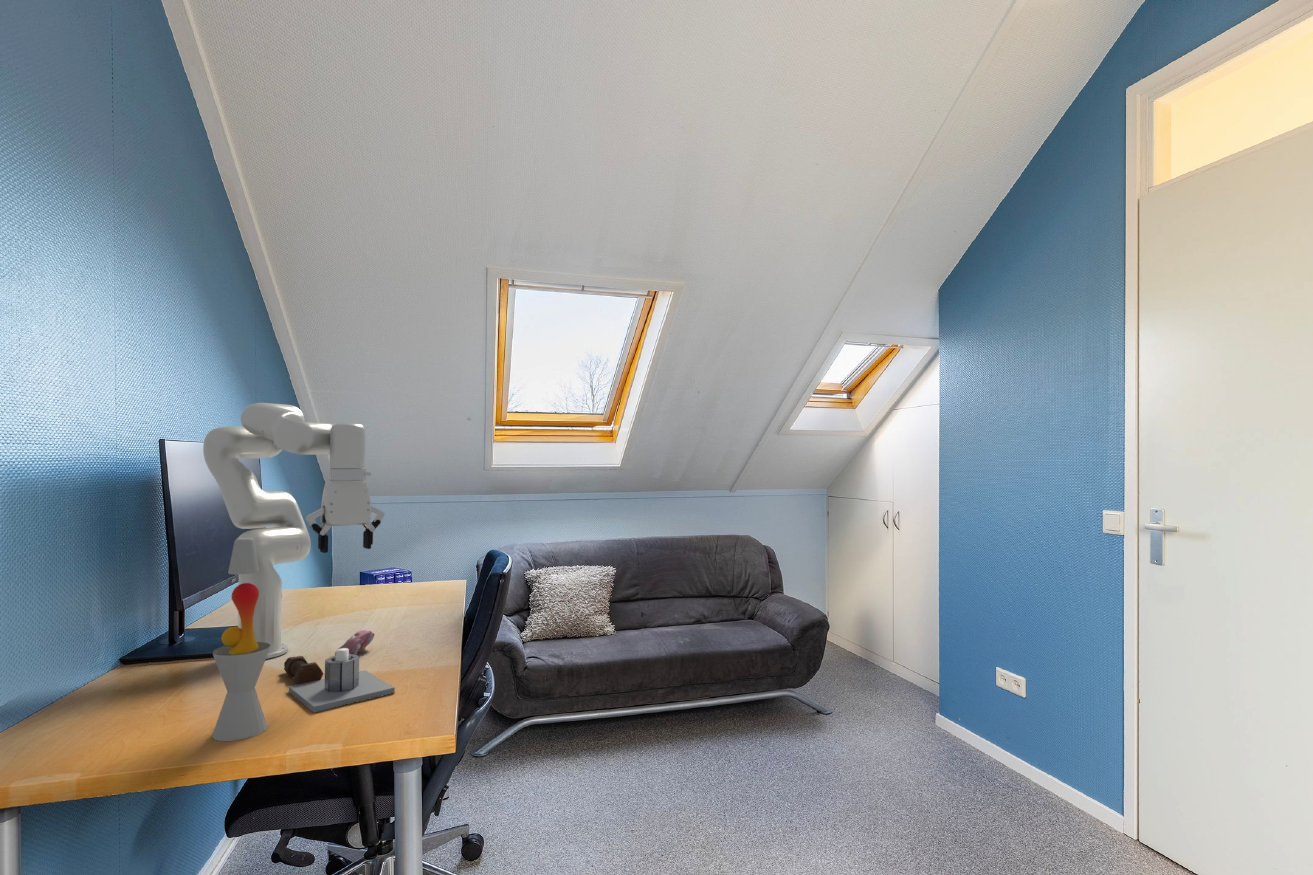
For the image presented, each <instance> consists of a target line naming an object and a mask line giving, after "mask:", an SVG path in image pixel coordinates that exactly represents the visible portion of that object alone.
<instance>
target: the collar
mask: <svg viewBox="0 0 1313 875" xmlns="http://www.w3.org/2000/svg"><path fill="white" fill-rule="evenodd" d="M359 671H360V655H357V654H356V655H354V654H349V656H348V660H347V661H342V662H340V661H336V656H335V655H332V656H329V657H328V658H326V659H325V660H324V679H325V690H326V691H328V692H344V691H348V690H352V689H355V688H356V687H357V686H359Z"/></svg>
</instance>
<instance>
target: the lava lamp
mask: <svg viewBox="0 0 1313 875" xmlns="http://www.w3.org/2000/svg"><path fill="white" fill-rule="evenodd" d="M256 572H259V567H258V561H257V555H256V548H255V542H254V539H253V538H238V537H237V538H236V539H235V540H234V542H233V546H232V552H231V557H230V562H229V567H228V572H227V573H228V574H229V575H235V576H236V575H238V576H239V574H251V573H256ZM258 597H259V591H258V588H257V587H256V586H255V585H253V584H251V583H243V584H240V585H239V584H238V585H237V586H236V587H235V588H234V589H233V590H232V592H231V601H232V602H233V605H234V607H235V608H236V610H237V612H238V613H239V615H240V618H241V626H242V629H241V628H239V627H238V626H231V627H230V626H229V627H228V628H226V629H225V630H224V631H223V632H222V634H221V642H222V643H223V646H220V647H217V648H215V649H214V650H213V651H212V656H213V658H214V661H215V663H216V666H217V669H218V671H219V674H220V677H221V678H222V682H223V685H224V686H225V689H226V695H225V697H224V701H223V704H222V706H221V708H220V712H219V715H218V718H217V720H216V723H215V726H214V728H213V732H212V735H211V738H212V739H213V738H214V739H213V740H214V741H218V742H234V741H235V742H236V741H240V740H241V741H242V740H245V739H250V738H252V737H255V736H258V735H260V734H262V733H263V732H265V731H266V730H267V729H268V727H269V726H268V724H267V720H266V716H265V715H264V711H263V708H262V705H261V702H260V699H259V696H258V693H257V690H256V685H257V683H258V680H259V677H260V675H261V673H262V670H263V668H264V664H265V662H266V660H267V659H266V657H267V654H268V652H269V649H270V644H269V643H265V642H256V639H255V636H254V630H253V615H254V610H255V606H256V603H257V600H258Z"/></svg>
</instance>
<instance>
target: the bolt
mask: <svg viewBox="0 0 1313 875" xmlns="http://www.w3.org/2000/svg"><path fill="white" fill-rule="evenodd" d="M283 663H284V664H283V666H284V667H283V670H284V671H285V673H286V674H287V675H288V677H289V676H290V677H293V678H292V679H293V681H294V682H295V683H296V685H298V684H303V683H308V682H312V681H317V680H322V678H323V676H324V671H323V670H322V669H321V667H320V666H319V665H318V663H317V662H308V661H307V659H305V657H304V656H303V655H298V656H290V657H288V658H286V659H285V661H284V662H283ZM290 677H289V678H290Z"/></svg>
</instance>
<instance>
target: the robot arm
mask: <svg viewBox="0 0 1313 875" xmlns="http://www.w3.org/2000/svg"><path fill="white" fill-rule="evenodd" d="M240 422H241V425H242V426H241V425H238V426H237V425H232V426H231V425H227V426H219V427H216V428H213V429H211V430H209V432H208V433H206V435H205V437H204V439H203V440H204V441H203V446H202V447H203V448H202V450H203V458H204V461H205V464H206V467H207V468H208V470H209V472H210V473H211V475H212V476H213V478H214V480H215V481H216V483H217V484H218V487H219V490H220V492H221V496H222V499H223V502H224V504H225V507H226V511H227V512H228V515H229V518H230V520H231V522H232V524H233V525H234V526H235V527H236V528H238V529H242V530H245V529H249V530H247V531H245V532H243V533H241V534H240V535H239V536H238V537H237V539H238V538H253V539H254V542H255V548H256V555H257V561H258V567H259V572H256V573H251V574H238V585H240V584H243V583H251V584H253V585H255V586H256V587H257V588H258V591H259V597H258V600H257V603H256V606H255V610H254V615H253V630H254V636H255V639H256V642H265V643H269V644H270V649H269V652H268V654H267V657H266V660H268V659H272V658H277V657H279V656H282V655H285V654H286V653H287V652H288V650H289V646H288V645H287V644H285V643H282V615H283V581H282V579H281V576H280V574H279V573H278V572H277V571H276V569H275V568H274V566H276V565H281V564H287V563H288V564H289V563H293V562H299V561H301V560H304V559H305V558H306V557H307V556H308V555H310V552H311V546H312V545H311V537H310V534H309V531H308V528H307V526H306V523H305V520H306V522H307V523H308V525H309V528H310V529H311V530H313V532H315V534H316V535H317V538H318V539H317V542H318V543H317V548H318V549H319V551H320V552H321V553H324V554H327V553H329V535H328V534H327V532H329V530H330V529H331V528H332V527H342V526H343V527H344V526H345V527H346V526H356V525H357V526H359V525H361V526H362V527H363V528H364V531H363V532H362V533H363V534H362V537H363V538H362V547H363V548H364V549H366V550H371V549H372V545H373V544H374V532H375V531H376V529H377V528H378V527H379V526H380V525H381V522H382V520H383V518H384V516H385V512H384V511H382V510H380V509H378V508H376V507H373V506H372V504H371V494H370V488H369V484H368V481H366V479H367V478H370V477H372V476H371V475H372V473H371V471H370V470H368V471H367V469H366V428H365V426H364V425H362V424H360V423H347V422H346V423H344V422H342V423H327V422H313V421H311V422H310V421H307V422H305V416H304V414H303V411H301V409H299V407H297V406H295V405H292V404H283V403H270V402H269V403H268V402H257V403H256V402H255V403H251V404H249V405H248V406H246V407H245V408H244V409H243V410H242V411H241V414H240ZM283 451H285V452H289V453H291V454H295V455H301V456H302V455H304V456H305V455H306V456H307V455H309V456H310V455H312V456H313V455H315V456H317V455H320V456H323V455H324V456H325V455H326V456H329V474H328V475H329V476H328V477H329V478H328V479H329V481H328V482H325V483H324V486H323V491H322V498H321V505H320V508H319V509H317V510H315V511H313V512H311V513H309V514H307V515H306V516H305V520H304V518H303V515H302V511H301V509H300V507H299V504H298V503H297V500H296V498H294V497H293V495H291V494H290V493H289V492H286V491H284V490H283V491H282V490H268V491H267V490H263V489H262V487H260V484H259V482H258V479H257V477H256V475H255V474H254V472H253V471H252V470H251V469H250V467H248V465H245V464H244V463H243V462H241V461H240V459H271V458H275V457H276V456H278V455H279V454H280V453H282V452H283ZM372 514H373V515H374V516H375V518H374V519H373V521H372V522H371V518H372ZM319 517H320V518H319ZM317 518H319V519H320V523H321V524H320V525H318V523H317V521H316V519H317ZM237 615H238V617H237V618H238V619H237V627H239V628H241V629H242V626H241V618H240V615H239V613H238V614H237Z"/></svg>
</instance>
